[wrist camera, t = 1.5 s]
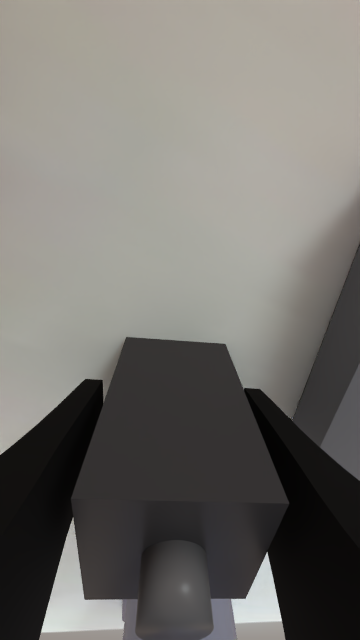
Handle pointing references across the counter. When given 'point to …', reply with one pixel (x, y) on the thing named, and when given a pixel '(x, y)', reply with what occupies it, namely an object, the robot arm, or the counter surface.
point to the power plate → (337, 382)
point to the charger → (175, 489)
